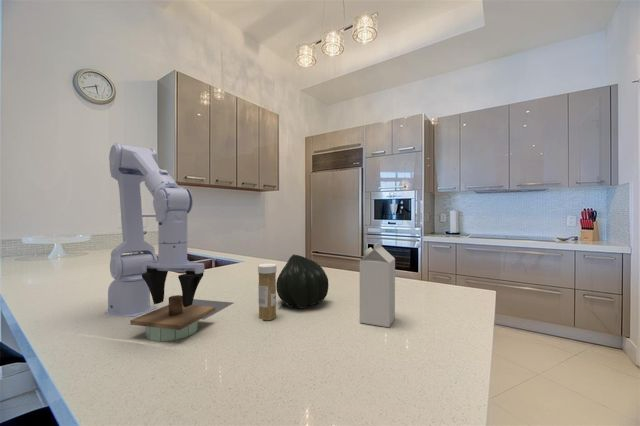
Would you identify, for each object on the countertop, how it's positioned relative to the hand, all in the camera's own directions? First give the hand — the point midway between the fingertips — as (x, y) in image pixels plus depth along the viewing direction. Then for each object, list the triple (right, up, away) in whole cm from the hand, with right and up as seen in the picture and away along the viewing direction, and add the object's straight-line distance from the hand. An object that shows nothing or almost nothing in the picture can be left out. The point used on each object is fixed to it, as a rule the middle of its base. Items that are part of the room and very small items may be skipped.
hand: (173, 304), depth 65 cm
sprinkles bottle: (+19, -7, +9) cm, 22 cm away
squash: (+27, -7, +21) cm, 35 cm away
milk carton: (+46, -7, +7) cm, 48 cm away
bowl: (0, -6, 0) cm, 6 cm away
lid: (0, -3, +1) cm, 3 cm away
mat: (-1, -6, +16) cm, 17 cm away
